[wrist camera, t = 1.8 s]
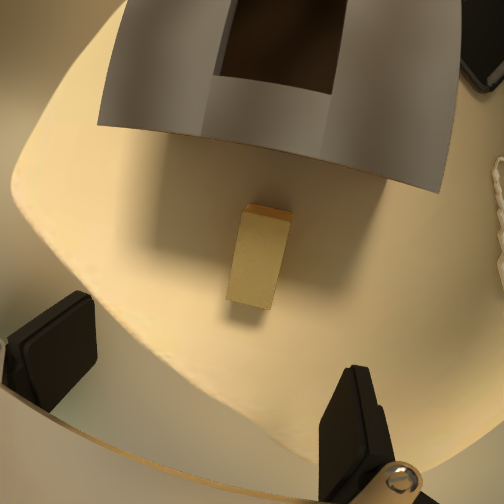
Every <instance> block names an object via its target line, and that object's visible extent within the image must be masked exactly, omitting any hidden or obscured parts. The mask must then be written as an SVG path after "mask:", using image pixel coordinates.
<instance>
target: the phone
mask: <svg viewBox="0 0 504 504" xmlns="http://www.w3.org/2000/svg"><path fill="white" fill-rule="evenodd" d="M459 70H460V71H461V72H462V74H463V75H464V76H465V77H466V79H467V80H468V81H469V83H470V84H471V85H472V86H473V88H474V89H475V90H476V91H478V92H480V93H489V92H492V91H493V90H494V89H495V88H496V87H497V86H498V85H499V84H500V83H501V82H502V81H503V80H504V0H461V53H460V69H459Z"/></svg>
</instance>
